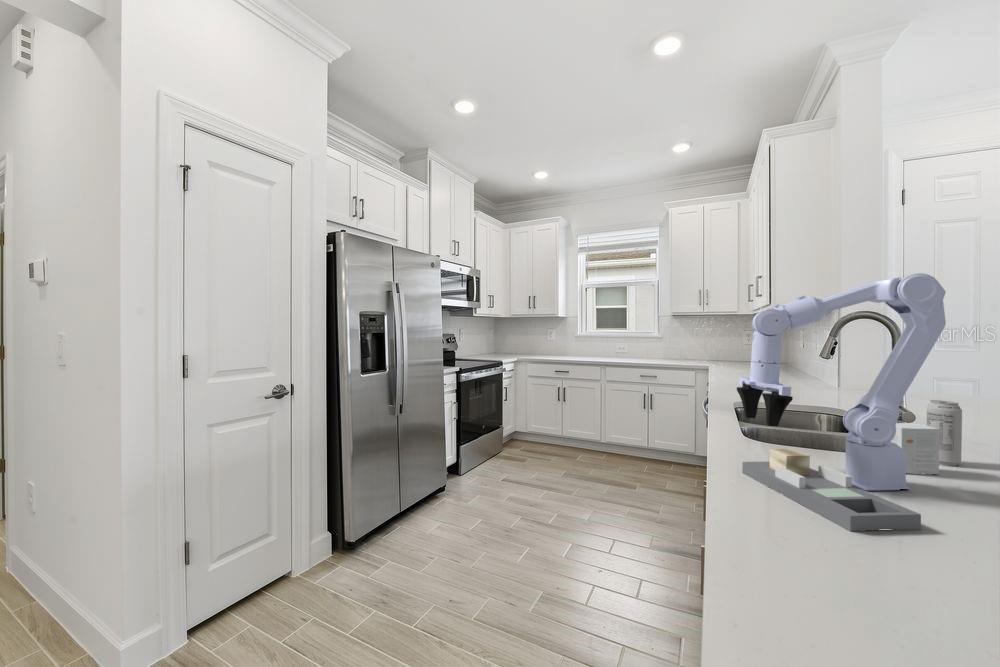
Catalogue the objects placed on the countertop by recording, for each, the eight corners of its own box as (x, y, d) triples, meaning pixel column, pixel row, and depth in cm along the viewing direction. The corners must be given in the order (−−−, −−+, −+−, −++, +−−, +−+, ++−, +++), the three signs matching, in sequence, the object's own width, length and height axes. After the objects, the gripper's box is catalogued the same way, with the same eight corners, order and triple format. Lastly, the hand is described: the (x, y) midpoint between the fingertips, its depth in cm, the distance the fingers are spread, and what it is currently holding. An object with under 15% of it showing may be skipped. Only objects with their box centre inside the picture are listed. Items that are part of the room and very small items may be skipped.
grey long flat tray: (793, 472, 98) (793, 452, 98) (920, 529, 70) (921, 502, 70) (742, 472, 97) (742, 453, 97) (850, 531, 69) (850, 503, 69)
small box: (918, 467, 102) (918, 423, 101) (939, 475, 96) (940, 428, 96) (881, 466, 102) (882, 422, 102) (900, 474, 97) (901, 427, 97)
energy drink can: (968, 466, 103) (969, 403, 103) (948, 467, 101) (950, 404, 101) (937, 458, 109) (938, 399, 108) (919, 460, 107) (920, 400, 107)
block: (791, 467, 93) (791, 448, 93) (809, 474, 88) (809, 455, 88) (769, 467, 93) (769, 448, 93) (786, 475, 88) (786, 455, 88)
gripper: (729, 358, 105) (725, 413, 105) (770, 365, 90) (765, 429, 91) (757, 359, 105) (753, 415, 105) (802, 366, 91) (797, 430, 91)
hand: (760, 421), depth 98 cm, fingers open, 7 cm apart
